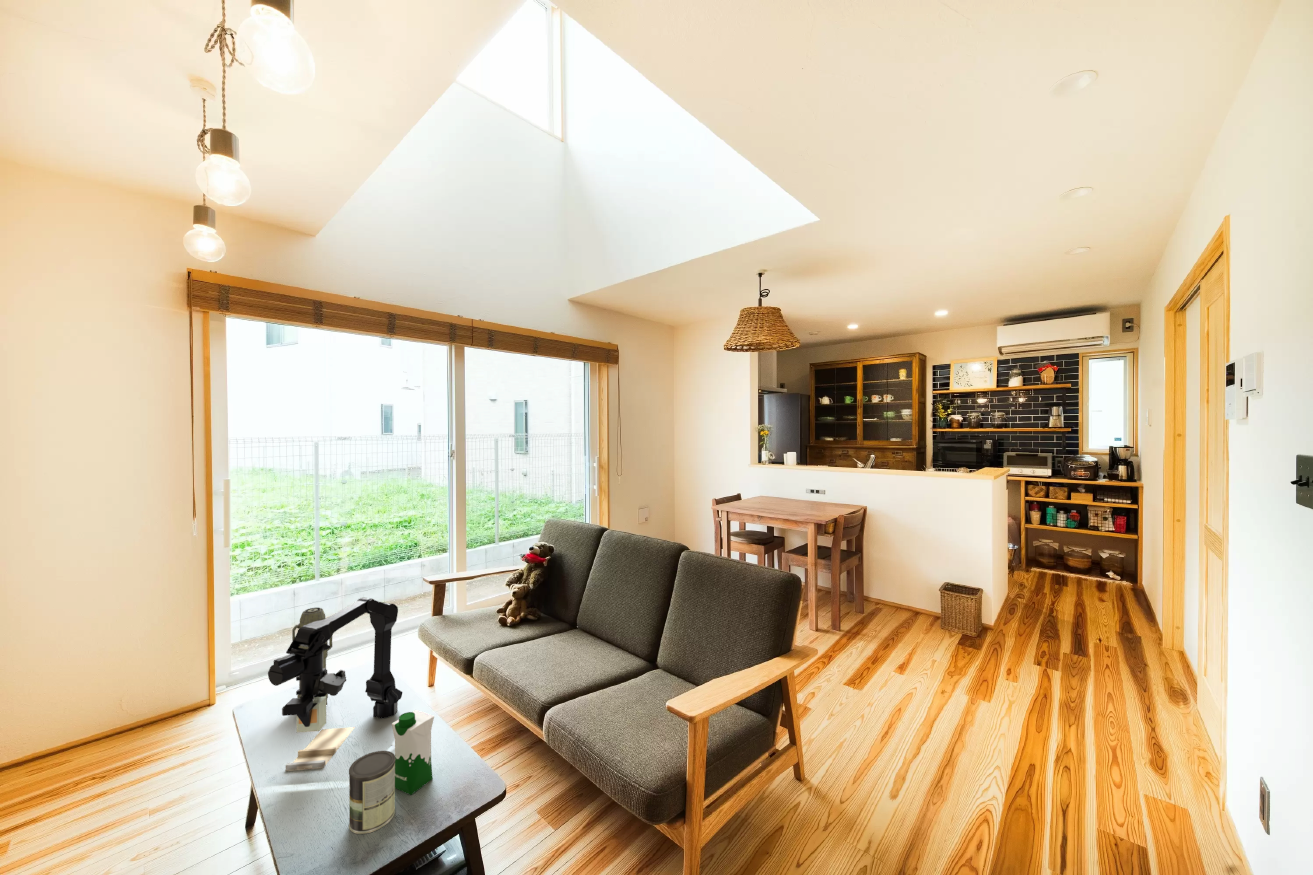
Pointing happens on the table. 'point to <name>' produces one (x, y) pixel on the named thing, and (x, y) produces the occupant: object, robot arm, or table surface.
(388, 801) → the coffee can
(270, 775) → the table surface
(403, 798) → the table surface
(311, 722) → the carton
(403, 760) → the milk carton
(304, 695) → the robot arm
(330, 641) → the thermos
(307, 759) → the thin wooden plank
